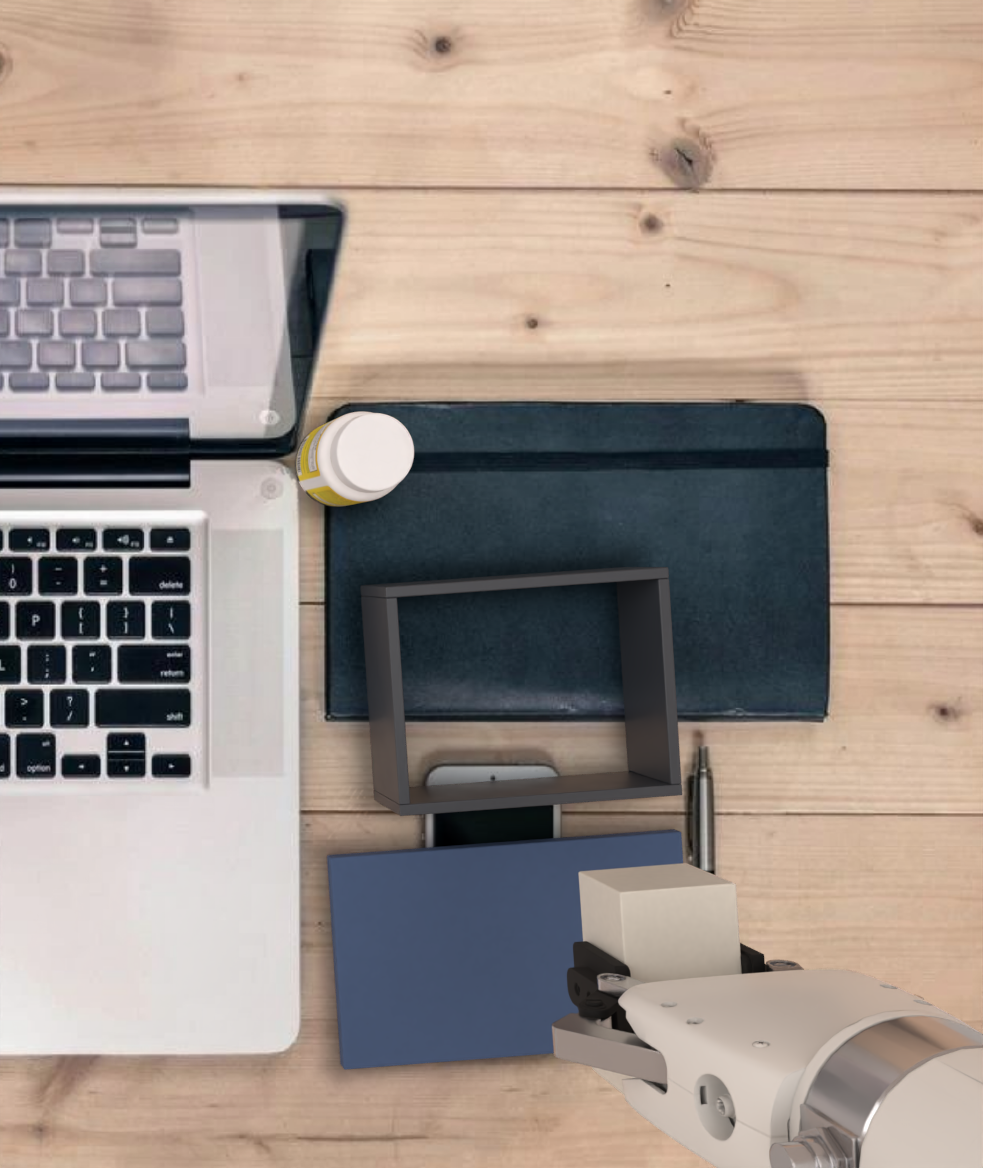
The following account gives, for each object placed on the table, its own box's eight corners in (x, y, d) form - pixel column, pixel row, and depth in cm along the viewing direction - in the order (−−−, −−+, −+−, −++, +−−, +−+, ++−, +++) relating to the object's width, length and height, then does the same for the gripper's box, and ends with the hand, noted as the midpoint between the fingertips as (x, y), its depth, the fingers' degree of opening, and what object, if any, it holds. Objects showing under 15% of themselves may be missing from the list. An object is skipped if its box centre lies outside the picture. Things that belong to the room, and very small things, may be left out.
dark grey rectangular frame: (632, 778, 76) (682, 795, 71) (370, 798, 76) (400, 816, 70) (619, 566, 76) (668, 567, 70) (356, 585, 76) (385, 586, 70)
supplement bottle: (389, 481, 75) (439, 470, 67) (318, 522, 75) (359, 517, 67) (347, 408, 75) (393, 388, 67) (276, 449, 75) (312, 434, 67)
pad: (681, 1033, 76) (695, 1042, 75) (337, 1060, 76) (344, 1070, 74) (668, 826, 76) (682, 831, 75) (323, 852, 76) (330, 858, 74)
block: (700, 1060, 60) (751, 1095, 56) (591, 1069, 60) (634, 1105, 56) (686, 862, 60) (736, 883, 56) (577, 871, 60) (619, 892, 56)
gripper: (673, 1288, 41) (461, 1068, 59) (1211, 1242, 41) (837, 1037, 60) (657, 1046, 41) (450, 901, 59) (1196, 1003, 41) (826, 871, 59)
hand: (646, 971), depth 59 cm, fingers closed on block, 5 cm apart
